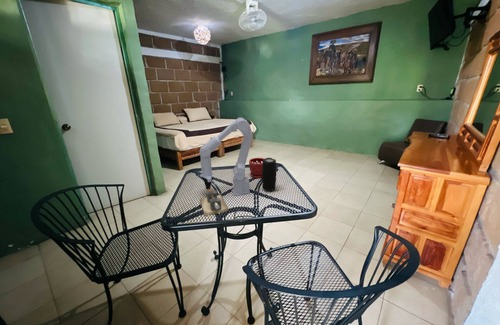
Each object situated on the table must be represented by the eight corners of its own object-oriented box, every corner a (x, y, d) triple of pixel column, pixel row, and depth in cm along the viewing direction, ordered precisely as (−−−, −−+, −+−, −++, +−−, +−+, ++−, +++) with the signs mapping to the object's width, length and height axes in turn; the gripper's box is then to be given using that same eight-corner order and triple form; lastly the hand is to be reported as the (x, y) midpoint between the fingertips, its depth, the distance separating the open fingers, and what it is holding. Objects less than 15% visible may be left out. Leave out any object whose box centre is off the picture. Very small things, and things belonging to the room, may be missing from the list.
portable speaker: (262, 193, 121) (262, 162, 115) (261, 186, 130) (261, 157, 124) (276, 192, 121) (277, 161, 115) (274, 186, 130) (275, 157, 124)
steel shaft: (213, 194, 115) (213, 188, 114) (221, 210, 99) (221, 202, 98) (206, 195, 114) (206, 189, 112) (213, 211, 98) (213, 204, 96)
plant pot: (245, 175, 148) (245, 160, 144) (258, 171, 156) (258, 156, 152) (258, 181, 138) (258, 164, 135) (271, 175, 147) (271, 160, 143)
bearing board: (221, 197, 117) (220, 186, 115) (228, 210, 103) (228, 199, 101) (200, 201, 113) (198, 190, 111) (205, 216, 99) (203, 204, 97)
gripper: (197, 164, 120) (199, 185, 124) (201, 172, 107) (203, 195, 111) (209, 162, 122) (210, 183, 126) (214, 170, 109) (216, 192, 114)
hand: (208, 188), depth 119 cm, fingers closed
